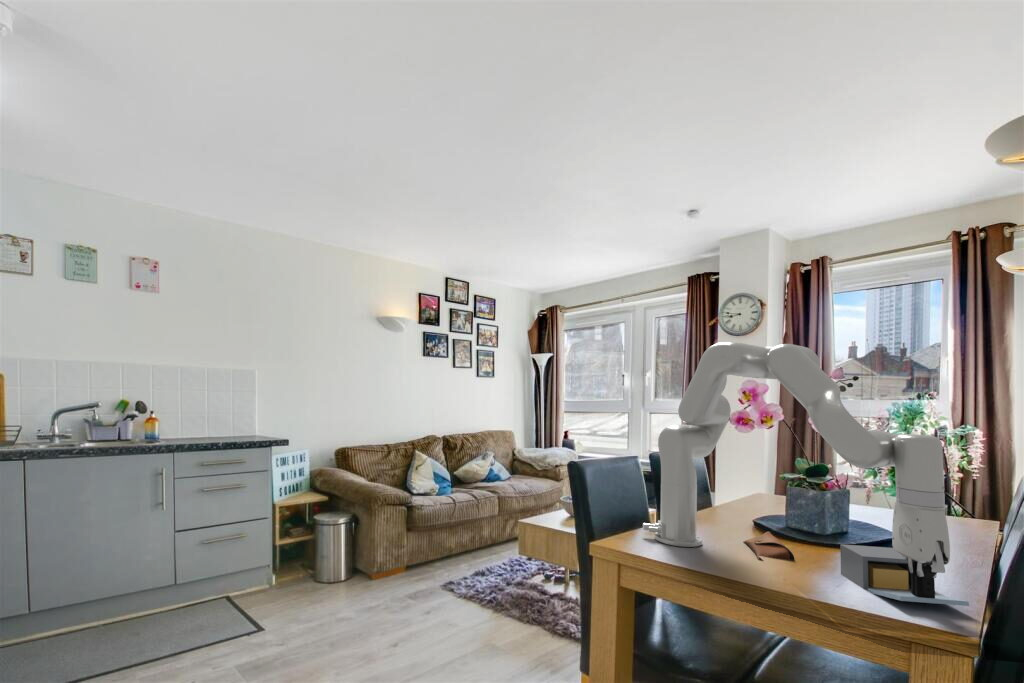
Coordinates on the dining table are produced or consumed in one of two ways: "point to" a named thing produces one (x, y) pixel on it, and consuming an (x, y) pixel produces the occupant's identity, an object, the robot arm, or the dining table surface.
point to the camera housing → (875, 567)
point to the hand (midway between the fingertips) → (923, 596)
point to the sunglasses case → (769, 547)
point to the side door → (912, 598)
